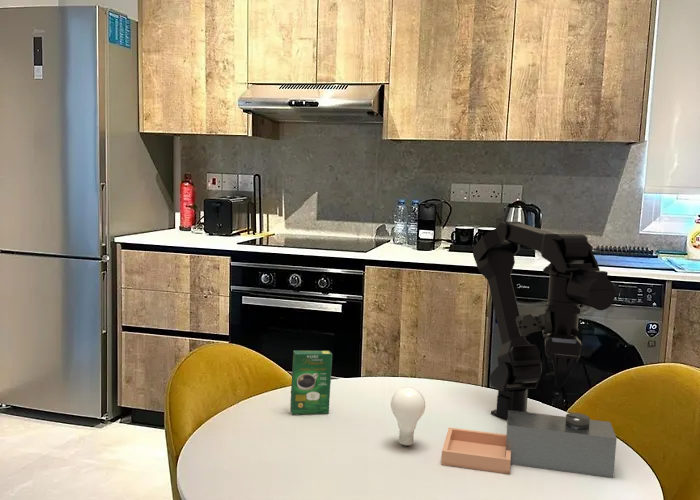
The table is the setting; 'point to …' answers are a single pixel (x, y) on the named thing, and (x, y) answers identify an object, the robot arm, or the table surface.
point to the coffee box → (311, 382)
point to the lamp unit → (561, 443)
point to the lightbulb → (407, 412)
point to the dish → (476, 450)
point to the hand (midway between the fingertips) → (557, 380)
